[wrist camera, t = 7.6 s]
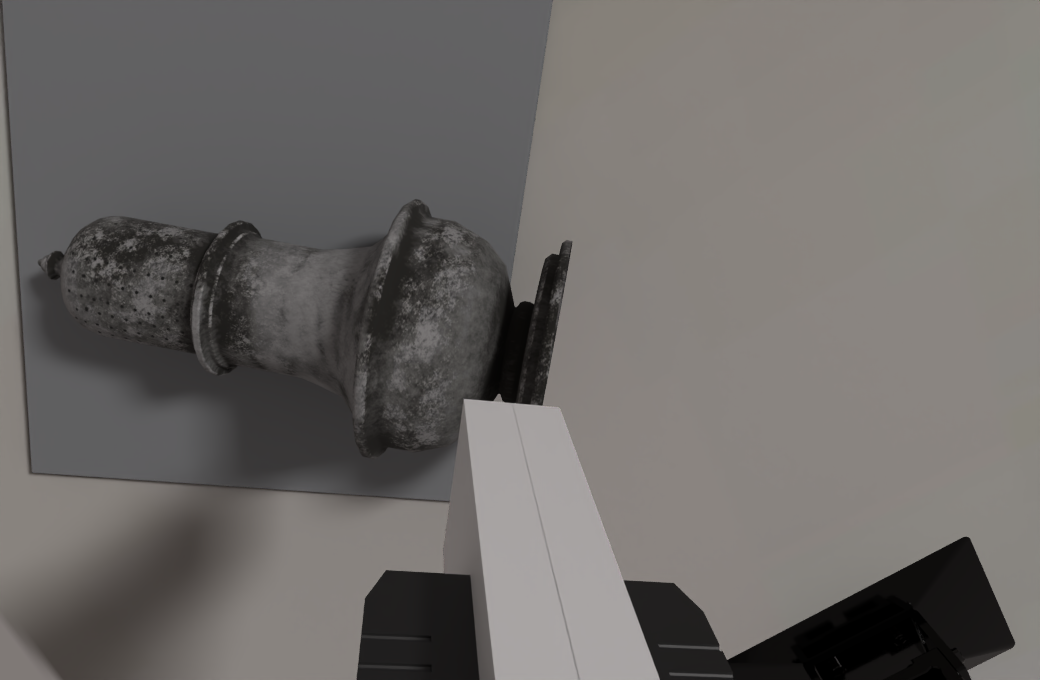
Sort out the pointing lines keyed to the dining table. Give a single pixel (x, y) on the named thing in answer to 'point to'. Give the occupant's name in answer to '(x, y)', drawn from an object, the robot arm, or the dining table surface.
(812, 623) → the black boxy piece
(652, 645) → the robot arm
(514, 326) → the dark grey turned piece
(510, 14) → the mat
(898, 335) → the dining table surface
